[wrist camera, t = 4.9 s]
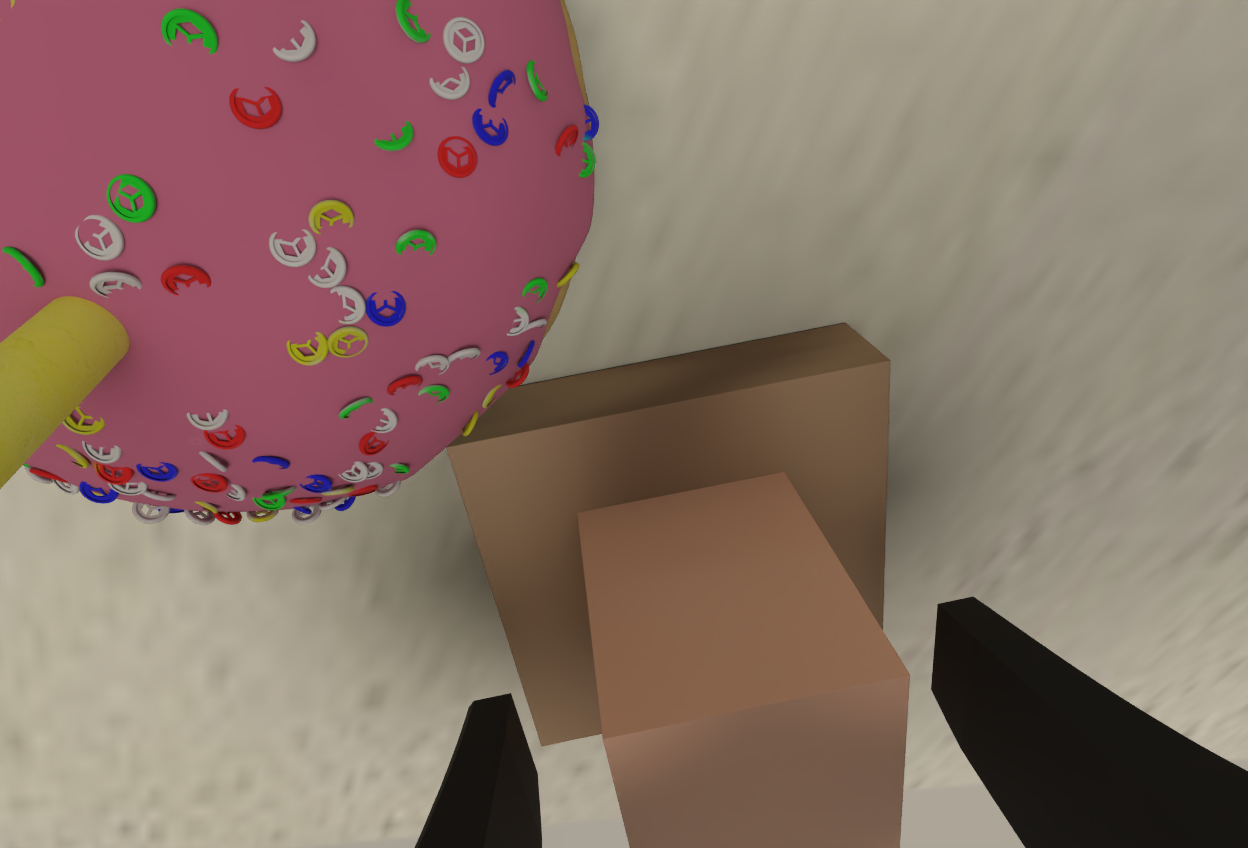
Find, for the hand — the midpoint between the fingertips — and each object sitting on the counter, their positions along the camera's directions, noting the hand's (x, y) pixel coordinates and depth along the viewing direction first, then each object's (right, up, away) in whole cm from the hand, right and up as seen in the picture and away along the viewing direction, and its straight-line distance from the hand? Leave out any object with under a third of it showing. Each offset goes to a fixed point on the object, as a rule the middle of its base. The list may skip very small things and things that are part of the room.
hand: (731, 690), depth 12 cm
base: (-1, +2, +4) cm, 5 cm away
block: (0, +1, +2) cm, 3 cm away
